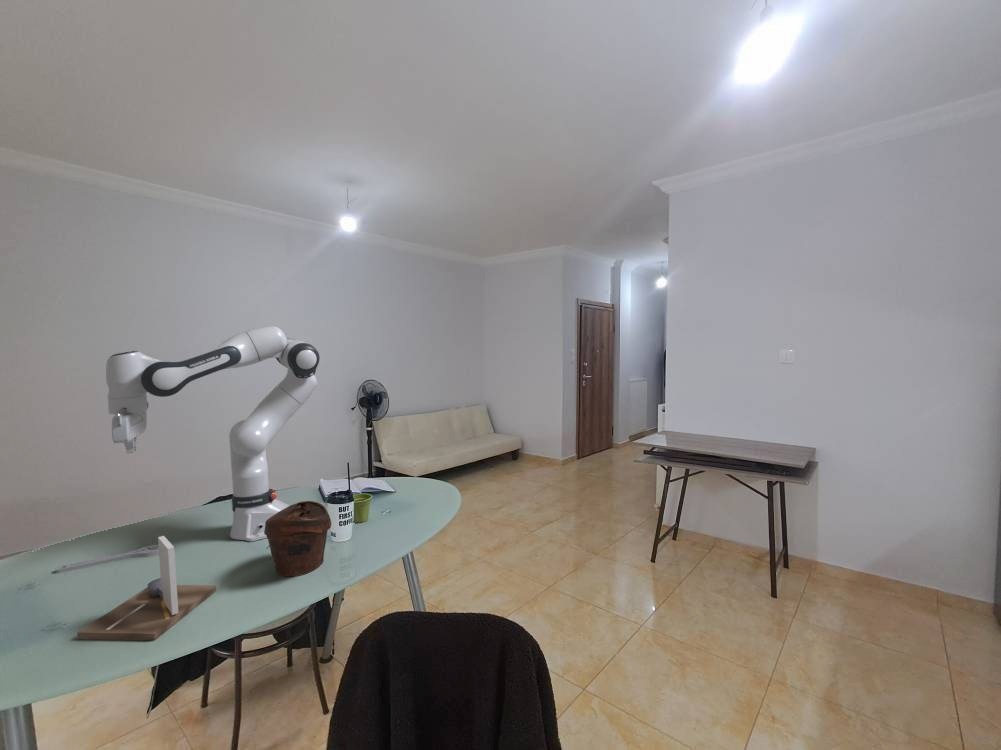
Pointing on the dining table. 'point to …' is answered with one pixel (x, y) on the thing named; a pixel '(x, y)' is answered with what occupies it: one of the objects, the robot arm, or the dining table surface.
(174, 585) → the white upright panel
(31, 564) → the dining table surface
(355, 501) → the plant pot
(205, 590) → the dial board
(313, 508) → the case
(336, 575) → the dining table surface
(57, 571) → the adjustable wrench
